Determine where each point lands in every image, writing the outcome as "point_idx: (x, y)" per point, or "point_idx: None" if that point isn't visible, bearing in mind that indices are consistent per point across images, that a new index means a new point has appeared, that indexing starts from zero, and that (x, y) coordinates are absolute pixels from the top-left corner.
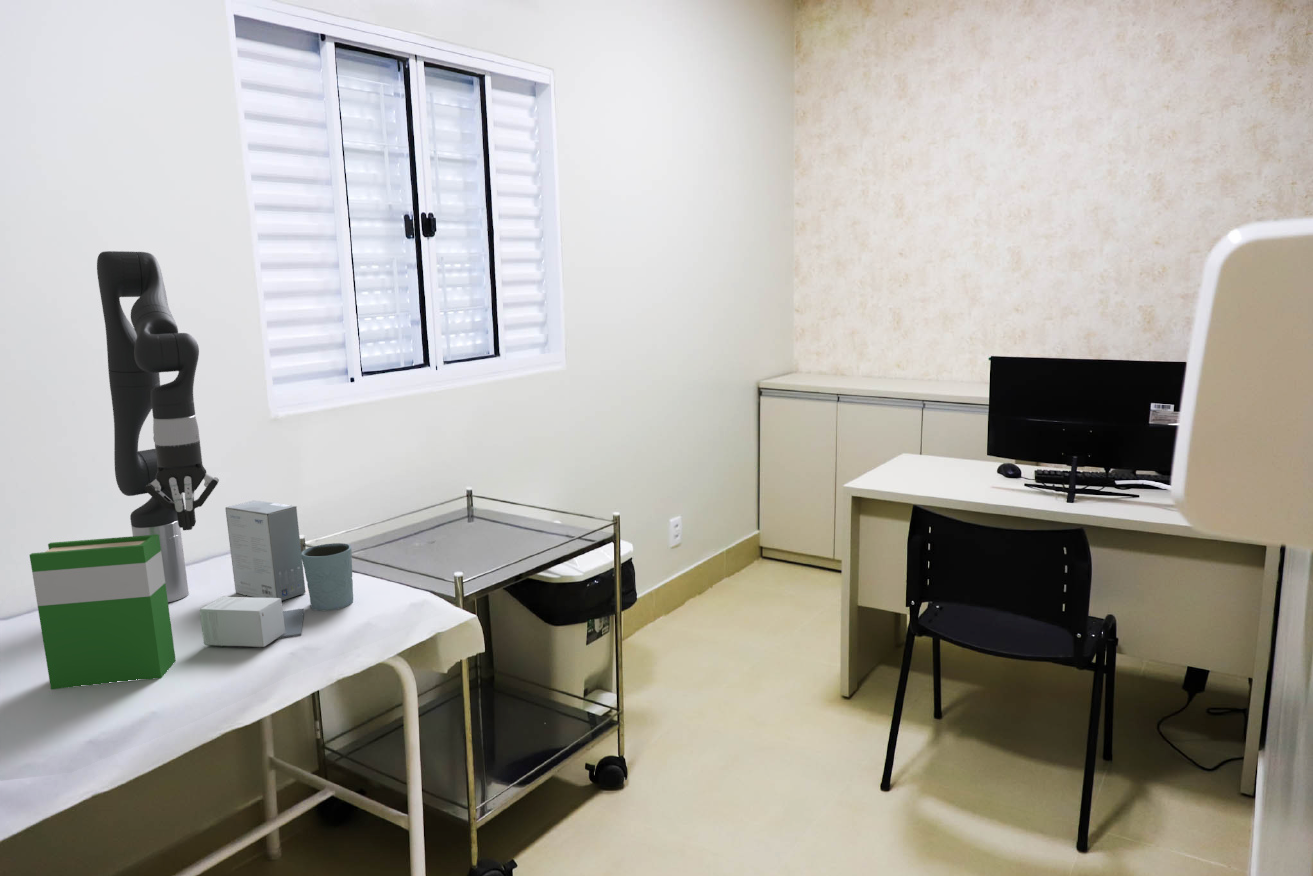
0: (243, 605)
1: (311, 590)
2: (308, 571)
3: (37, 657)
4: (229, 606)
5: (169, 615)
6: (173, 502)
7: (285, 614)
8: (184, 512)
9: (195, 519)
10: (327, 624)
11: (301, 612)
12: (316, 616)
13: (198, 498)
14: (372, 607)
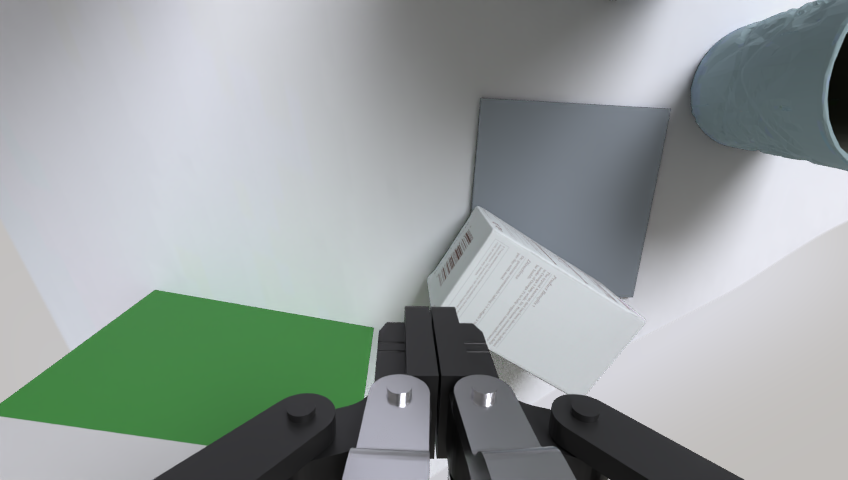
0: (547, 345)
1: (730, 122)
2: (778, 124)
3: (26, 155)
4: (510, 335)
5: (364, 393)
6: (339, 476)
7: (619, 138)
8: (431, 453)
9: (485, 345)
10: (696, 249)
11: (659, 142)
12: (686, 177)
13: (578, 458)
14: (823, 176)
